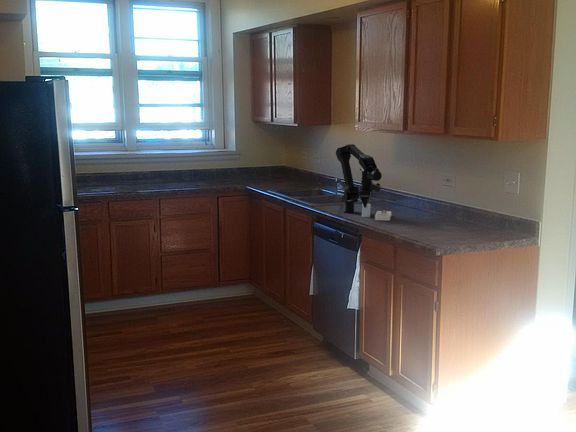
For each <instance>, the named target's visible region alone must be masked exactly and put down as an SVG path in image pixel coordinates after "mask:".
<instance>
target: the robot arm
mask: <svg viewBox="0 0 576 432" xmlns="http://www.w3.org/2000/svg"><path fill="white" fill-rule="evenodd" d="M335 155H336V158H337V161H339V163H340V165H341V170H342V174H343V180H344V185H345V187H344V189H343V194H342V196H341V199H340V200H341V203H344V210H343V213H344V214H345V213H346V214H354V213H356V210H355V203H358V202H359V198H360V200H361V203H362V204H363V205H364V208H366V206H367V204H369V202H370V199H371V196H372V194H373V192H377V193H380V192H381V190H382V188H383V186H381V183H379V181H380V180H381V179H382V175H383V174H382V173H381V171H380V169H379V168H378V165H377V164H376V162H375V159H374V157H373V156H370V155H368V154H365V153H364V152H363V151H362V150H360V149H359V148H358V147H357V146H356V145H355V144H353V143H350V144H346V145H344V146H341V147H338V148H337V149H336V150H335ZM351 155H352V156H351ZM351 157H354V158H355V159H356V160H357V161H358V164H359V165H360V167H361V168H359V171H360V172H361V180H360V184H361V186H360V187H361V188H360V191H359V186H357V185H355V184H354V179H353V172H352V169H351V163H350V159H351ZM373 181H375V182H377V183H374V182H373Z"/></svg>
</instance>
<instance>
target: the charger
mask: <svg viewBox="0 0 576 432" xmlns="http://www.w3.org/2000/svg"><path fill="white" fill-rule="evenodd" d="M370 217H371V203H368V204H367V206H366V208H364V205H363V203H362V204H361V218H370Z"/></svg>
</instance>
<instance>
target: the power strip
mask: <svg viewBox="0 0 576 432" xmlns="http://www.w3.org/2000/svg"><path fill="white" fill-rule="evenodd" d="M391 218H392V211H389V210H386V209H384V210H377V211H376V213H375V214H374V221H391Z"/></svg>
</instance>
